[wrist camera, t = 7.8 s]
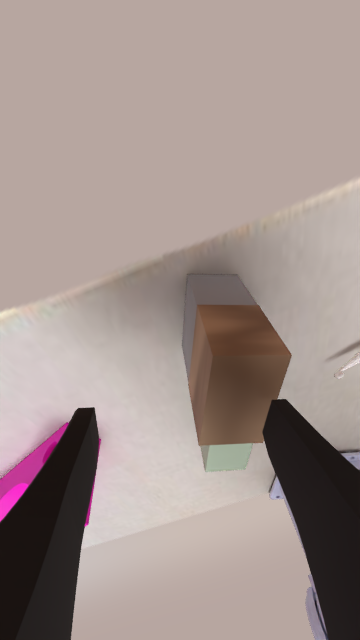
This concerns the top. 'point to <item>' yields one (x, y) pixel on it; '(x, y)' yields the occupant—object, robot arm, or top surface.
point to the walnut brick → (234, 373)
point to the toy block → (29, 474)
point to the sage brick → (225, 457)
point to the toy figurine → (347, 366)
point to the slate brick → (209, 302)
